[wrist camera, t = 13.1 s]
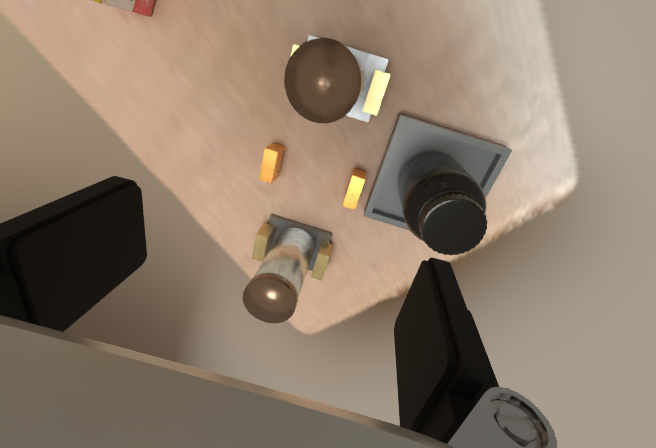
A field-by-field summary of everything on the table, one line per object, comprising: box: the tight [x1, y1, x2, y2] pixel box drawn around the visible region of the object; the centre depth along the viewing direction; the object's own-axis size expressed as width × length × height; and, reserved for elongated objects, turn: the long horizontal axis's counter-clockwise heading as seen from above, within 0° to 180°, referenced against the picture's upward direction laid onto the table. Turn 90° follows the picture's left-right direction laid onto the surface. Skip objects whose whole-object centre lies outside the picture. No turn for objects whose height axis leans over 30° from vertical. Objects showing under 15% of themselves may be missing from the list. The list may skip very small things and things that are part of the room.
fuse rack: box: [243, 34, 391, 323], centre depth 31 cm, size 26×11×12 cm, turn 165°
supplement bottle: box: [398, 152, 487, 255], centre depth 28 cm, size 7×7×12 cm
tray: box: [364, 114, 512, 230], centre depth 34 cm, size 11×11×2 cm
